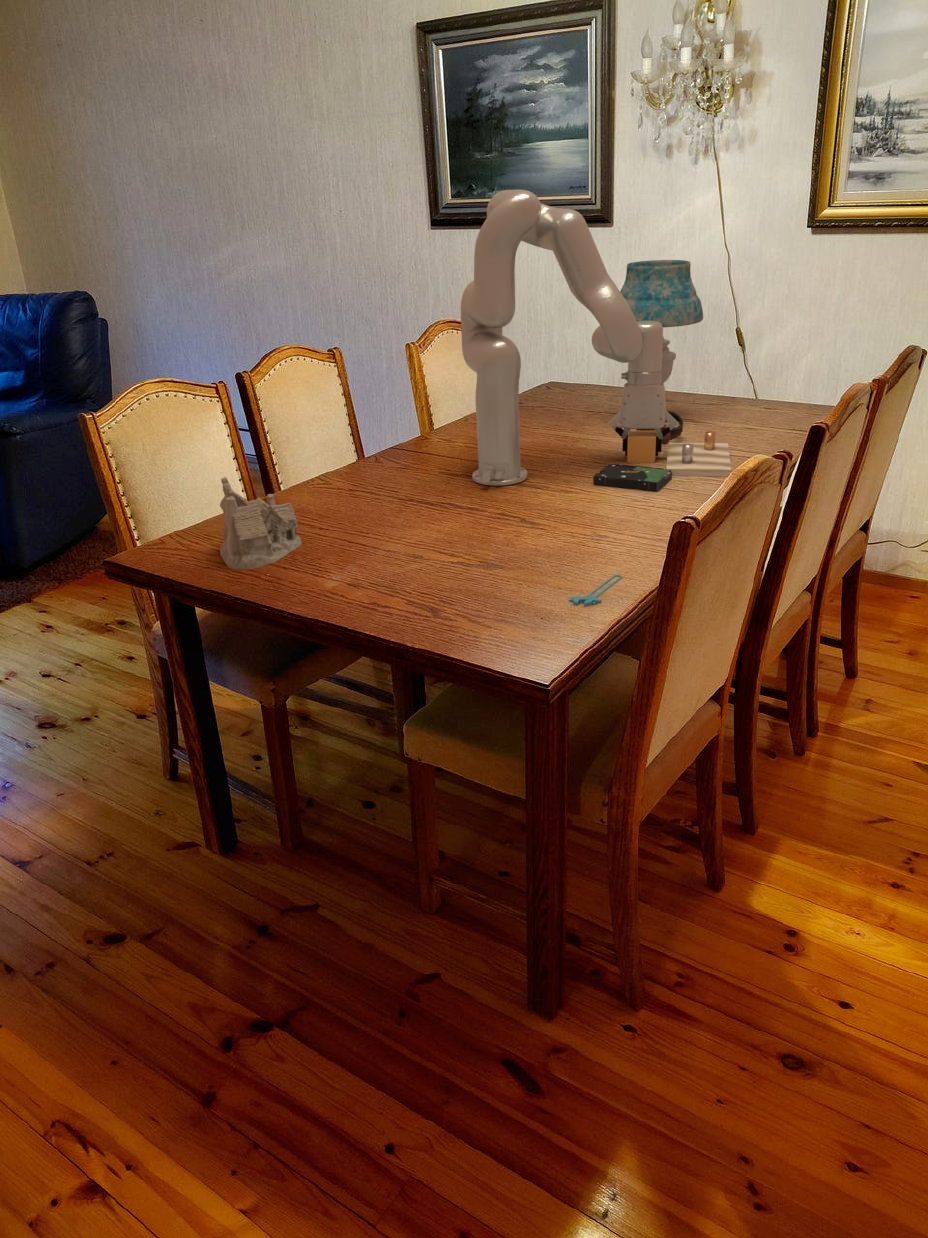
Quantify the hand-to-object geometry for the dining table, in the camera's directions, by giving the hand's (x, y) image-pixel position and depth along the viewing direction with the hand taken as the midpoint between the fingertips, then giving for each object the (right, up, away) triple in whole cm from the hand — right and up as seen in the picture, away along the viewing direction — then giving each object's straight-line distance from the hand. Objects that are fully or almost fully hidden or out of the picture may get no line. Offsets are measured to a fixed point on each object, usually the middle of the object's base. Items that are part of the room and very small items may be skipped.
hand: (641, 453), depth 217 cm
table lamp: (+10, +16, +34) cm, 39 cm away
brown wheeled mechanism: (+7, +6, +15) cm, 18 cm away
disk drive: (-5, -9, -15) cm, 18 cm away
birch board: (+12, -3, -4) cm, 13 cm away
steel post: (+8, -4, -9) cm, 13 cm away
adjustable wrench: (-20, -35, -66) cm, 77 cm away
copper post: (+16, +1, 0) cm, 16 cm away
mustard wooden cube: (0, -1, 0) cm, 1 cm away
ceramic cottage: (-81, -26, -42) cm, 95 cm away
